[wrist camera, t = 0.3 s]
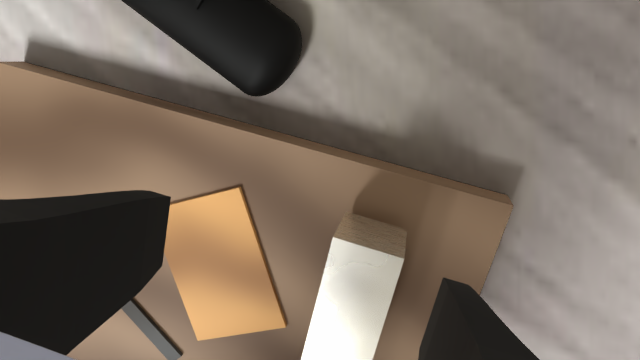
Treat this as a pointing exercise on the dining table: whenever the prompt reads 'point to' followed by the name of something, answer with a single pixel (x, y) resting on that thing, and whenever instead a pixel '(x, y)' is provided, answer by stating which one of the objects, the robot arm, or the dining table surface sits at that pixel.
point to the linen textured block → (355, 289)
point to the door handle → (231, 38)
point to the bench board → (236, 218)
